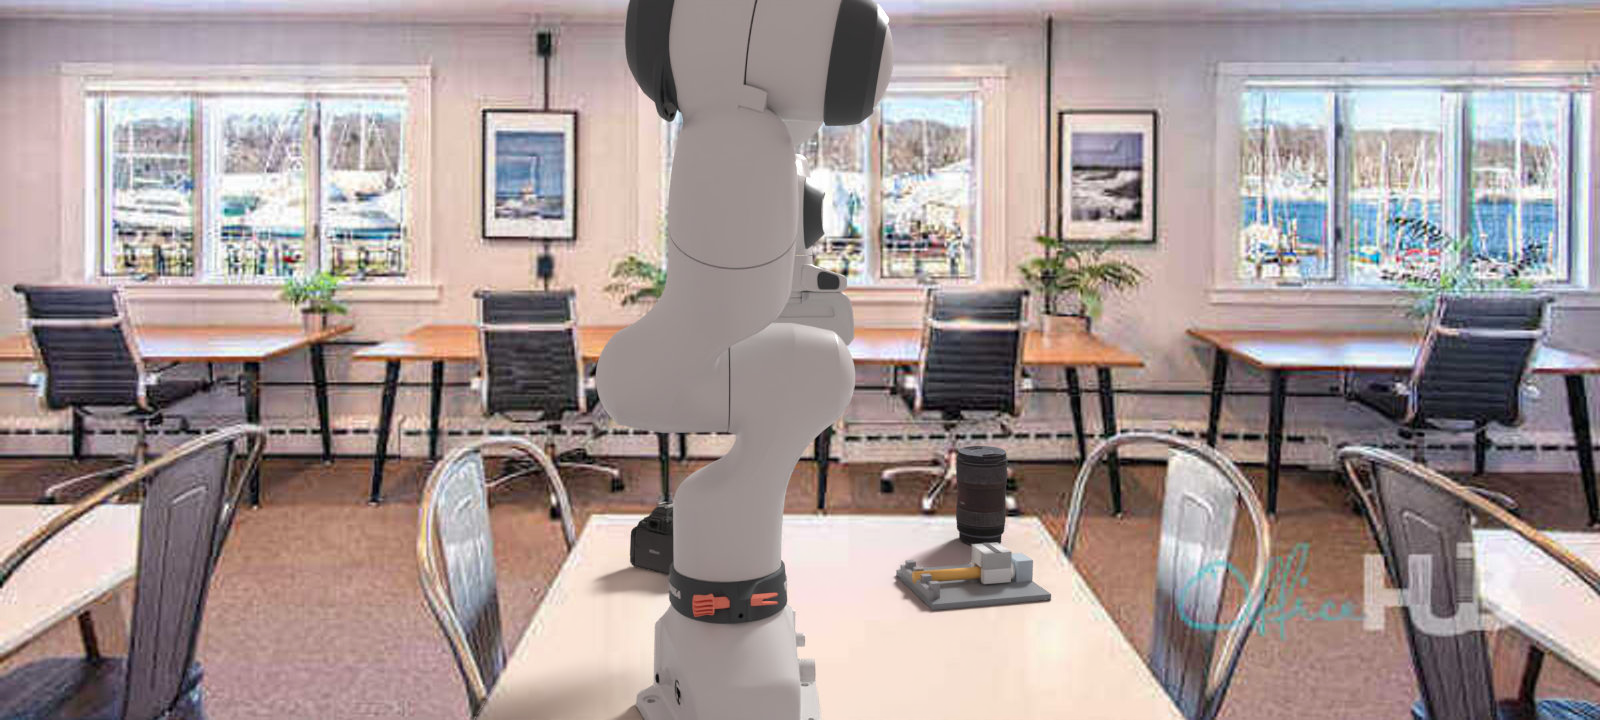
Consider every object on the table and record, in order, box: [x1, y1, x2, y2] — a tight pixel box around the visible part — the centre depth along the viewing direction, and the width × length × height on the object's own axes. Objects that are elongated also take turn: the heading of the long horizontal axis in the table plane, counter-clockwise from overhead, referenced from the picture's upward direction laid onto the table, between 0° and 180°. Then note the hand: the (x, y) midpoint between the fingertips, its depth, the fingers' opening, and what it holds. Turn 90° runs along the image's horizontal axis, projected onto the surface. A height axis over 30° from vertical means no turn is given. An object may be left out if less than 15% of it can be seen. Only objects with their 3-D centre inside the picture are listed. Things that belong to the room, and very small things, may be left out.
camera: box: [629, 501, 674, 576], centre depth 137 cm, size 13×10×10 cm
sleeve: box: [970, 543, 1013, 584], centre depth 132 cm, size 4×4×4 cm
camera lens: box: [955, 445, 1008, 546], centre depth 152 cm, size 8×8×15 cm
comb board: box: [895, 552, 1052, 611], centre depth 131 cm, size 14×17×4 cm
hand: (779, 380), depth 127 cm, fingers closed
